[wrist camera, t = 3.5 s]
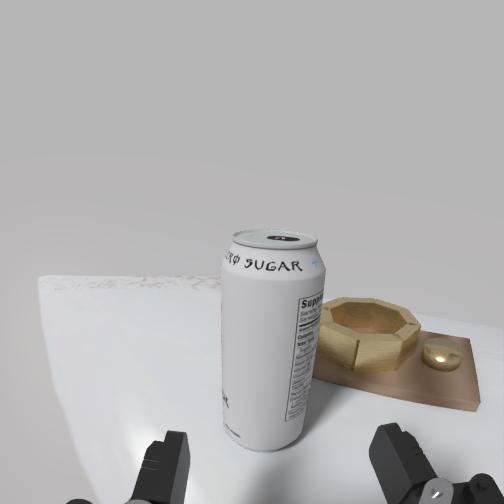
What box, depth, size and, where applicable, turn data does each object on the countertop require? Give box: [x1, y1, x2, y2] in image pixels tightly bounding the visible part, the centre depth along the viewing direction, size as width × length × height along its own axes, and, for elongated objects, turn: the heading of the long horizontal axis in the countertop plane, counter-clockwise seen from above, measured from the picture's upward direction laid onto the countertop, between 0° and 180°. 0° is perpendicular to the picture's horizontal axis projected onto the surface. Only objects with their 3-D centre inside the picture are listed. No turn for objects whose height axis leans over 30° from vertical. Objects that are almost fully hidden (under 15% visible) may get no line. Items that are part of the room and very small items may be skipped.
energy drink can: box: [221, 230, 326, 452], centre depth 19 cm, size 6×6×15 cm
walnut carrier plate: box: [312, 328, 480, 412], centre depth 31 cm, size 24×14×1 cm, turn 58°
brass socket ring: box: [316, 297, 464, 372], centre depth 30 cm, size 17×12×4 cm
